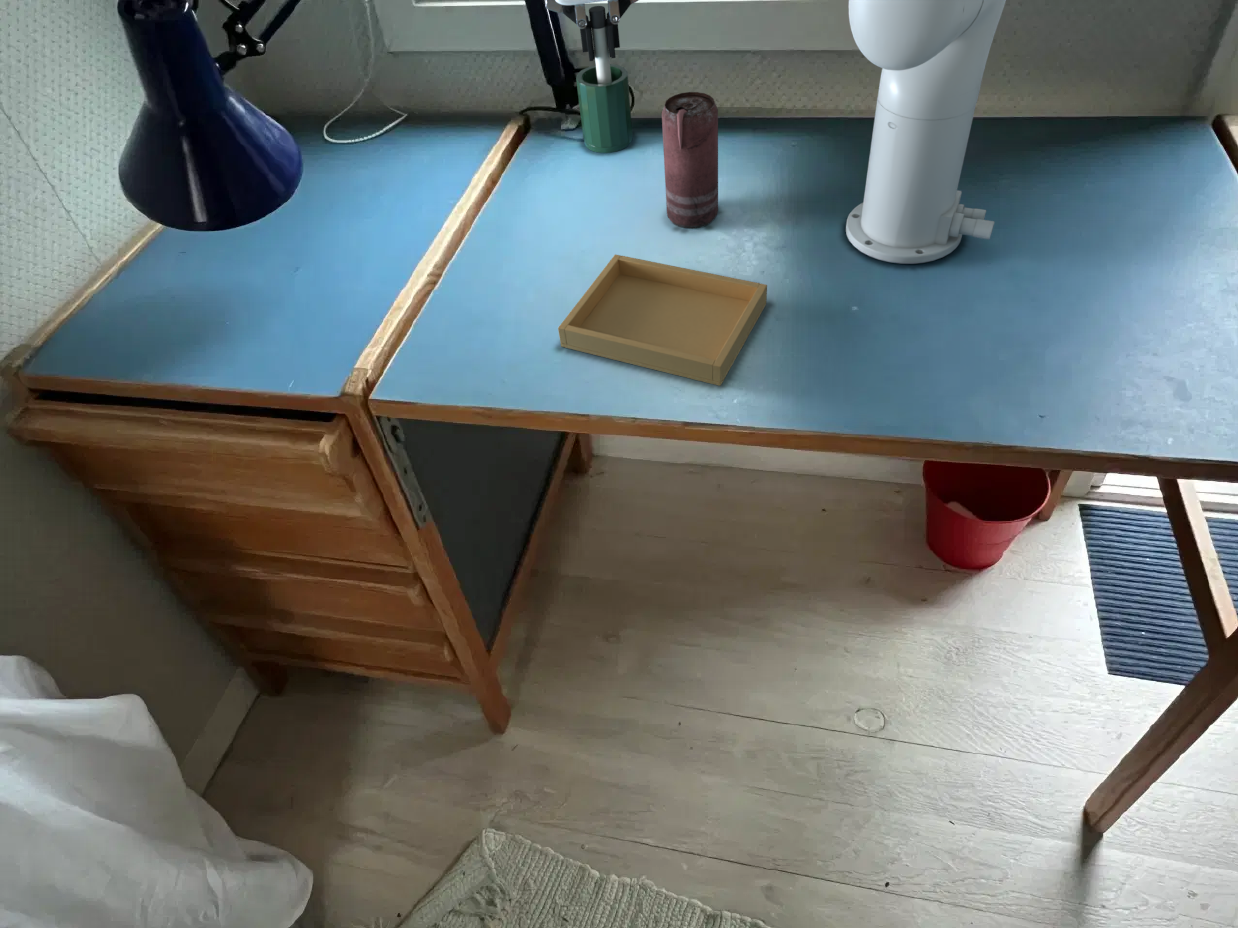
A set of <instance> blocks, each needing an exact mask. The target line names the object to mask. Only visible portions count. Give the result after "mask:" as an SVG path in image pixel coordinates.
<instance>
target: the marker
mask: <svg viewBox="0 0 1238 928" xmlns="http://www.w3.org/2000/svg"><path fill="white" fill-rule="evenodd" d="M588 18H589V21H590V25H591V29H592V38H593V46H594V55H595V60H594V61H595V65H596V71H597V80H598V84H607V83H611V82H612V80H611V70H610V64H611V61H610V55H609V50H608V41H607V31H606V19H607V13H606V8H605V6H603V5H595V6H591V7H590V8H588Z"/></svg>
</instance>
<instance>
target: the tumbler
mask: <svg viewBox="0 0 1238 928" xmlns="http://www.w3.org/2000/svg"><path fill="white" fill-rule="evenodd" d="M610 70H611V80H612V82H611V83H607V84H598V80H597V71H596V64H595V65H590V66H588V67H585V68H583V69H581V70H580V71H579V72H578V73H577V74H576V79H575V80H576V89H577V96H578V106H579V113H580V121H581V130H582V139H583V143H584V146H585V148H586V149H588V150H589V151H590V152H591V151H592V152H594V153H599V154H610V153H615V152H619V151H622V150H624V149H626V148H627V147H629V146H630V145H631V144H632V142H633V124H632V123H633V121H632V112H631V111H632V110H631V99H630V98H631V97H630V86H629V85H630V84H629V72H628V70H627V69H626V68H625V66H621V65H619V64H614V63H610Z"/></svg>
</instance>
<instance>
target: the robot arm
mask: <svg viewBox="0 0 1238 928" xmlns="http://www.w3.org/2000/svg"><path fill="white" fill-rule="evenodd" d="M606 1H607V9H608V11H607V13H606V31H607V41H608V50H609V58H611V59H616V57H617V56H616V49H619V48H621V43H620V31H619V23H620V21H621V19H622V17H624V14H625V13H626V11H628V10H629V8H630V6H631V5H633V4H635V3H637V2H638V1H639V0H545V9H547V10H548V11H552V12H555V13H558V14H563V15H564V16H565V17H566V18H567V19H569V20H570V21H571V22H573V23H574V24H576V26H577V28H578V29H579V32H580V41H581V48H582V53H587V54H588V59H589V62H594V61H595V53H594V45H593V36H592V28H591V25H590V18H589V15H587V14H586V12H587V11H586V4H592V3H599V2H606ZM1006 1H1007V0H848V22H849V27H850V31H851V34H852V37H853V40H854V42H855V45H856V46H857V48H858V50H859V51H860V53H861V54H862V55H863V57H865V58H866V59H867V61H869V62H870V63H871V64H873V65H874V66H877V67H878V68H880V69H881V73H880V79H879V85H878V86H879V87H878V93H877V98H876V107H875V113H874V120H873V128H872V136H871V142H870V151H869V158H868V164H867V173H866V179H865V187H864V194H863V202H861V203H860V204H858V205H857V206H855V207H854V208H853V209H852V210H851V212H850V213H849V214H848V216H847V219H846V223H845V232H846V234H845V235H846V237H847V240H848V241H849V242H850V243H851V244H852V246H853V247H854V248H856V249H857V250H858V251H859V252H860V253H862V254H864V255H867V256H868V257H870V258H873V259H876V260H878V261H883V262H887V263H893V264H901V265H915V264H924V263H929V262H934V261H936V260H939V259H941V258H944V257H946V256H948V255H949V254H951V253H952V252H953V251H954V250H956V249H957V248H958V246H959V245H960V243H961V240H962V237H963V235H964V236H969V237H972V238H976V239H977V238H978V239H982V240H988V241H990V239H991V237H992V233H993V230H994V226H995V221H993V220H988V219H985V217H986V214H987V209H982V208H977V207H976V208H971V207H966V206H965V204H962V203H960V202H961V198H962V192H963V191H962V190H958V188H959V182H960V178H961V174H962V171H963V170H962V169H963V165H964V160H965V156H966V152H967V147H968V142H969V137H970V133H971V128H972V124H973V120H974V115H975V110H976V106H977V103H978V99H979V95H980V90H981V86H982V83H983V77H984V73H985V68H986V65H987V61H988V57H989V54H990V50H991V47H992V44H993V41H994V37H995V35H996V32H997V28H998V26H999V24H1000V23H999V22H1000V19H1001V17H1002V14H1003V11H1004V8H1005V5H1006Z"/></svg>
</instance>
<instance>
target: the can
mask: <svg viewBox="0 0 1238 928" xmlns="http://www.w3.org/2000/svg"><path fill="white" fill-rule="evenodd" d="M661 123H662V124H661V126H662V143H663V144H662V146H663V147H662V148H663V165H664V168H663V169H664V182H665V184H664V185H665V205H666V216H667V219H669V220H670V222H671V223H672V224H673V225H674V226H676V227H678V228H683V229H690V230H691V229H693V230H694V229H700V228H703V227H707V226H708V225H710V224H711V223H712V222H713V221H714V220H715V219H716V217H717V216H718V213H719V108H718V106H717V104H716V102H715V99H714V98H713V97H712V96H711V95H710V94H707V93H704V92H700V91H687V92H680V93H676V94H674V95H672V96H670V97H669V98H667V100H665V102H664V106H663V108H662V111H661Z"/></svg>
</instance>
